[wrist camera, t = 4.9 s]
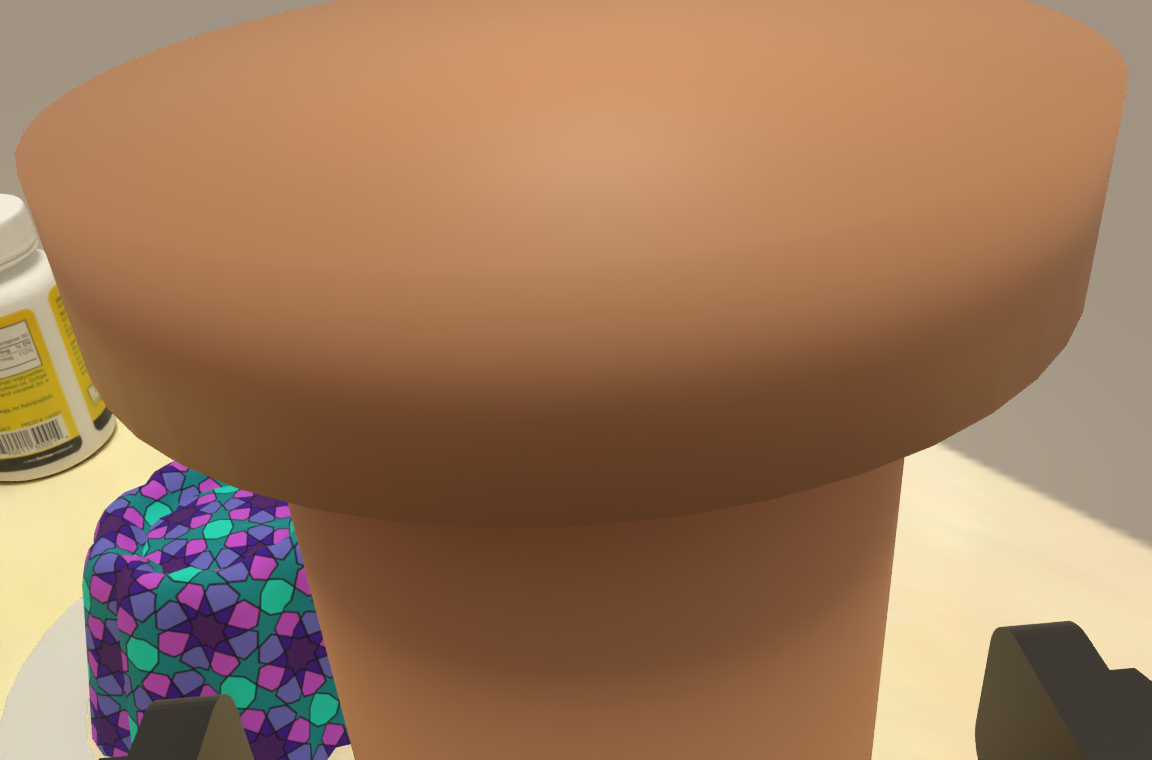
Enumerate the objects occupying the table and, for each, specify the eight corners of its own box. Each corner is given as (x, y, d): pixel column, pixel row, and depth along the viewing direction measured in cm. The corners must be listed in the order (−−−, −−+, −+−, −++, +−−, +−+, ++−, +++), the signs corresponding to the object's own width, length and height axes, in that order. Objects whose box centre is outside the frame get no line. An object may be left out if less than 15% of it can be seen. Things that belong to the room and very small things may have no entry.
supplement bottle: (52, 398, 39) (-32, 181, 34) (147, 420, 37) (72, 194, 32) (-63, 471, 35) (-172, 237, 31) (37, 499, 33) (-64, 254, 29)
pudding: (538, 825, 22) (513, 643, 19) (-65, 954, 20) (-183, 775, 18) (477, 493, 32) (455, 345, 30) (72, 563, 31) (10, 412, 28)
